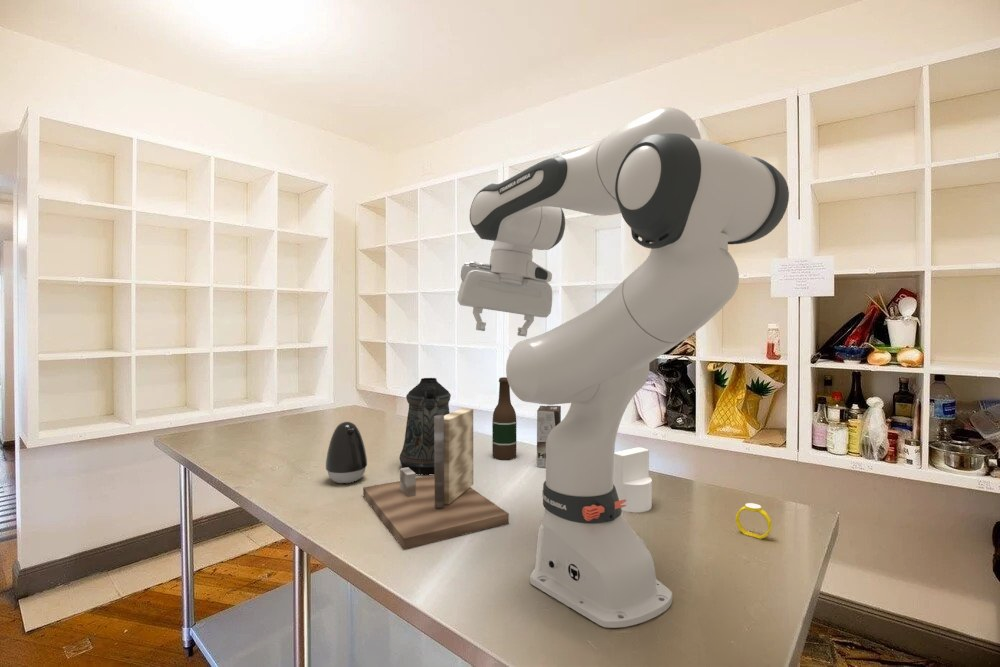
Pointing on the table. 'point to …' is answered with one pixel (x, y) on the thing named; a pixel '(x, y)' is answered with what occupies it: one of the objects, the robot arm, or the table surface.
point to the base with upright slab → (633, 479)
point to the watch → (753, 508)
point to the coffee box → (545, 429)
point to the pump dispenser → (346, 454)
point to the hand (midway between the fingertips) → (501, 333)
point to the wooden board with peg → (429, 510)
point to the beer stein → (423, 425)
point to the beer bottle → (504, 425)
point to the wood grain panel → (453, 455)
